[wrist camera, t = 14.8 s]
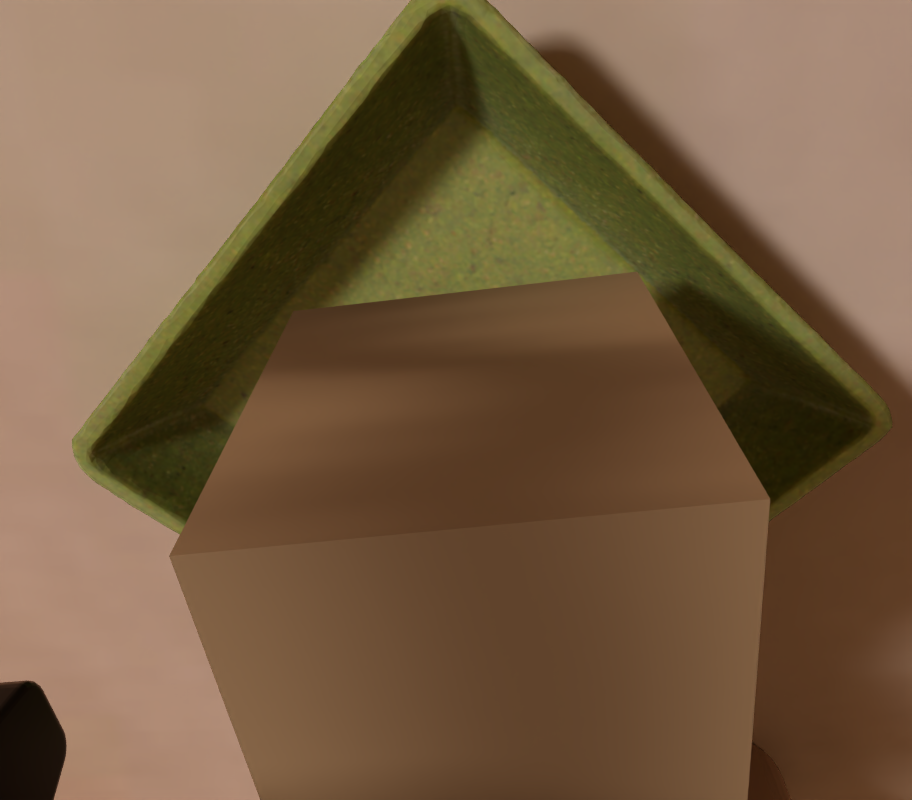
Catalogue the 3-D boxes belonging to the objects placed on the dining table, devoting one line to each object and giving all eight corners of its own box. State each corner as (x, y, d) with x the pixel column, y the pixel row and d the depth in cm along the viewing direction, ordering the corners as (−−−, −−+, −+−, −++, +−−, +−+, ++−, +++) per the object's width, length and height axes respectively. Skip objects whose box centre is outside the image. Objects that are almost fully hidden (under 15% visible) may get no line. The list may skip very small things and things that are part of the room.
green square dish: (485, 645, 16) (488, 731, 14) (109, 395, 13) (53, 462, 12) (845, 359, 13) (907, 424, 11) (447, -44, 10) (444, -47, 8)
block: (355, 574, 13) (297, 899, 8) (293, 311, 10) (168, 556, 6) (641, 548, 12) (741, 869, 8) (637, 271, 10) (770, 499, 6)
